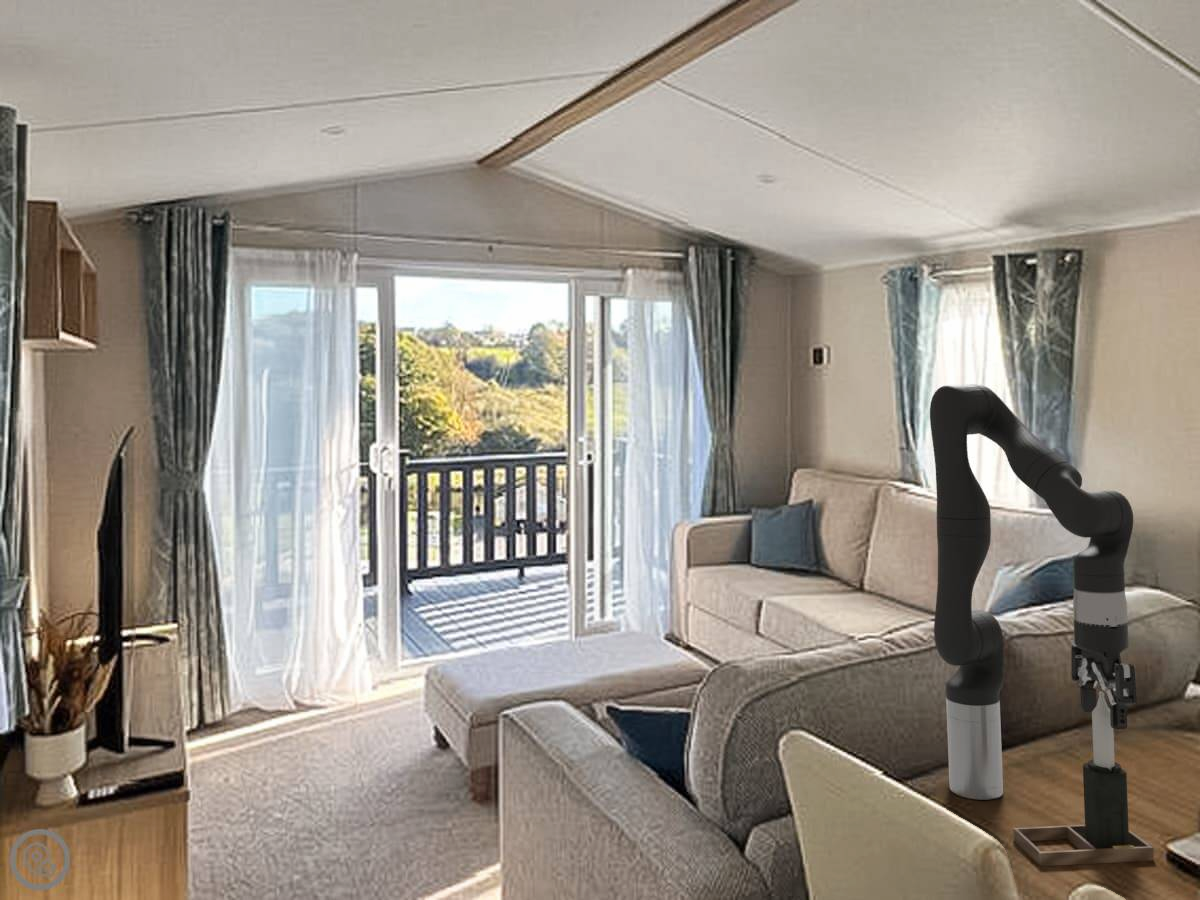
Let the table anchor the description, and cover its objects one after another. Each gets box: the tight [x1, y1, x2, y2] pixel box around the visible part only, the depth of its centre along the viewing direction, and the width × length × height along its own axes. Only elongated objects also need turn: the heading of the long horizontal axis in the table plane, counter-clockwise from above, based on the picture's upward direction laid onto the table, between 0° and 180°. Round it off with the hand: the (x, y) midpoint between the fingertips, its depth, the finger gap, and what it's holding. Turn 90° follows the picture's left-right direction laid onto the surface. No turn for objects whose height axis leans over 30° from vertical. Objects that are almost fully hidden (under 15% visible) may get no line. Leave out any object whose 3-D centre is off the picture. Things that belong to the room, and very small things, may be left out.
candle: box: [1082, 690, 1130, 849], centre depth 146 cm, size 5×5×25 cm
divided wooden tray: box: [1012, 824, 1155, 867], centre depth 146 cm, size 18×9×2 cm, turn 91°
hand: (1103, 719), depth 145 cm, fingers open, 8 cm apart
